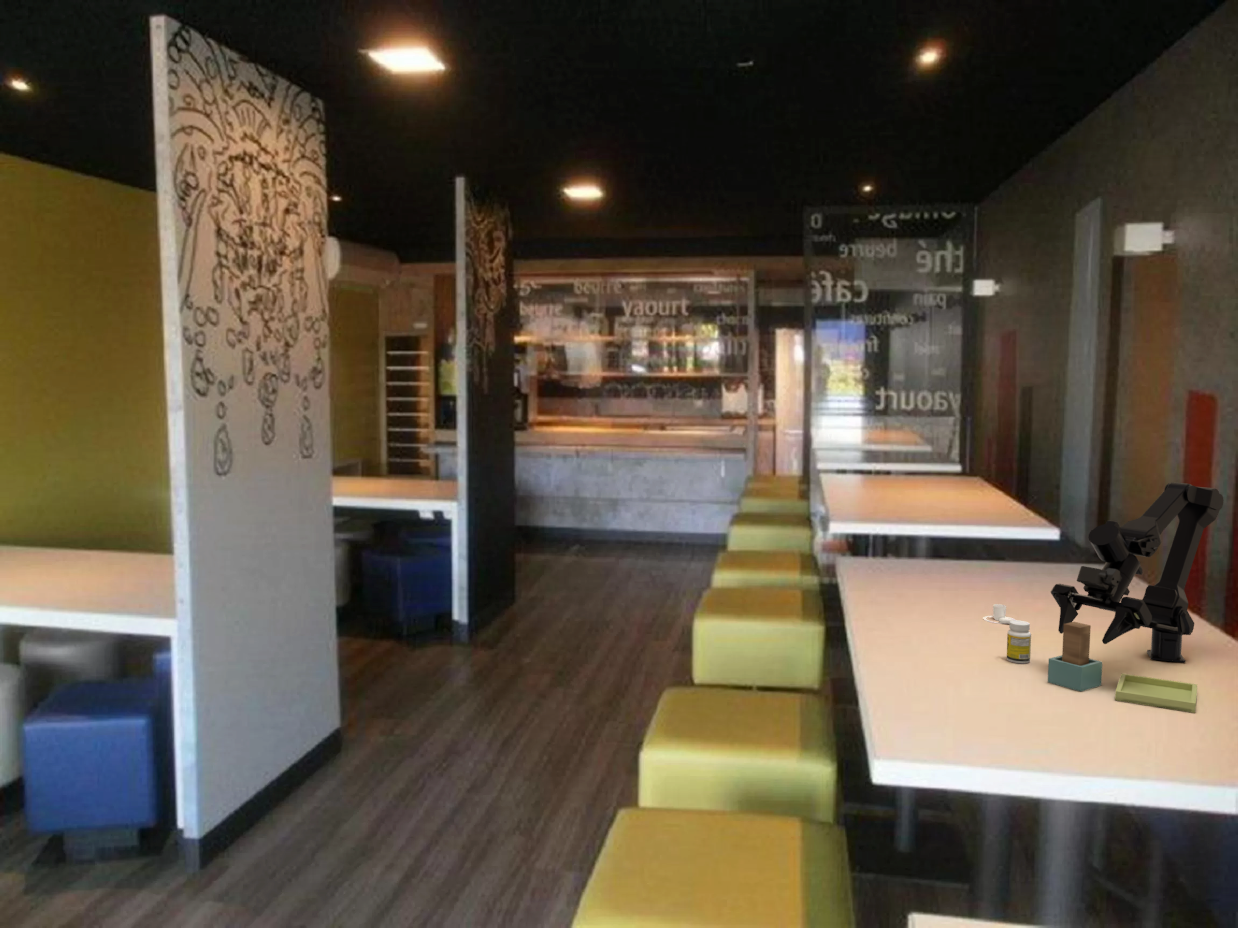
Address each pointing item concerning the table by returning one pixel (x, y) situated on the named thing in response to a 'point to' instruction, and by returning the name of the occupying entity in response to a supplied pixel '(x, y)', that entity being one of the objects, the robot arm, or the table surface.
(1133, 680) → the olive tray
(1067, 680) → the teal open box
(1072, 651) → the walnut stick
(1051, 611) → the table surface
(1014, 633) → the supplement bottle
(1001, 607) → the teacup and saucer
